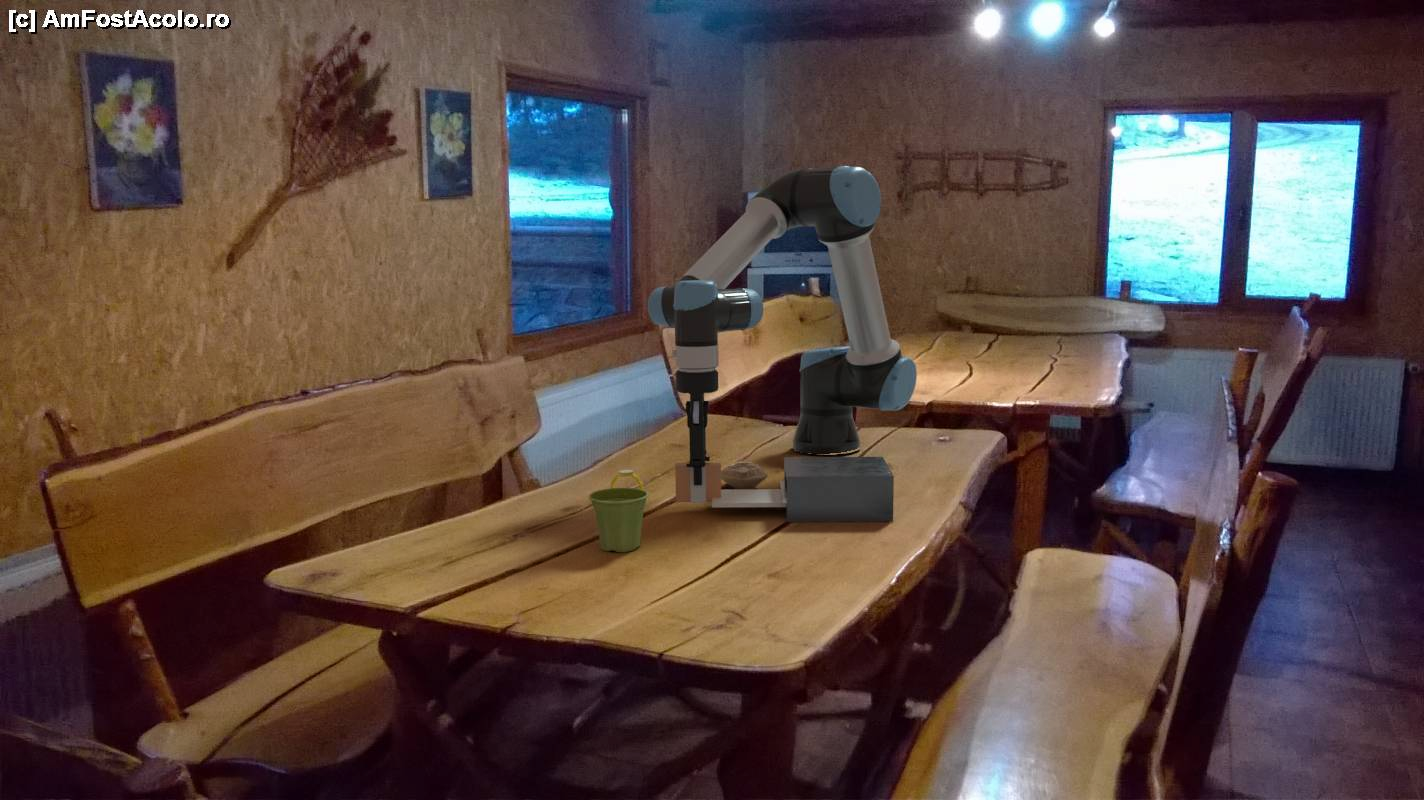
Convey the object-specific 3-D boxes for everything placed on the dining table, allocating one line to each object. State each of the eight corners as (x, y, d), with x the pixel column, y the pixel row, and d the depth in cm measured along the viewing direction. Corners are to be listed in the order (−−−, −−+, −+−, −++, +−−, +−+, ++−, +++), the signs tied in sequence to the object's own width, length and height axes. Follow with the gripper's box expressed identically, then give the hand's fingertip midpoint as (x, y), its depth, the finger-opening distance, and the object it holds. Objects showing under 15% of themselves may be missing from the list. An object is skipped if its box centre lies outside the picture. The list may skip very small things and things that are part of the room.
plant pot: (603, 559, 172) (602, 504, 171) (581, 544, 181) (580, 491, 179) (659, 550, 177) (658, 496, 175) (635, 536, 185) (634, 485, 183)
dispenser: (780, 499, 208) (779, 457, 207) (882, 499, 208) (882, 456, 206) (782, 522, 193) (782, 476, 191) (893, 521, 192) (893, 475, 191)
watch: (610, 504, 208) (607, 473, 207) (615, 501, 210) (612, 470, 210) (641, 504, 206) (638, 472, 205) (646, 500, 209) (643, 469, 208)
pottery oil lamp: (767, 477, 226) (777, 449, 222) (754, 510, 216) (764, 482, 212) (726, 461, 226) (736, 433, 223) (711, 494, 216) (721, 465, 212)
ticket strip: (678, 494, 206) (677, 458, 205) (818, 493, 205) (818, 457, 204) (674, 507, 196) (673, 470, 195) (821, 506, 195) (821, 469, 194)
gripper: (678, 364, 205) (680, 490, 208) (672, 375, 190) (674, 511, 193) (719, 363, 205) (720, 490, 208) (717, 374, 189) (718, 510, 193)
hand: (698, 499), depth 201 cm, fingers closed on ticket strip, 2 cm apart
